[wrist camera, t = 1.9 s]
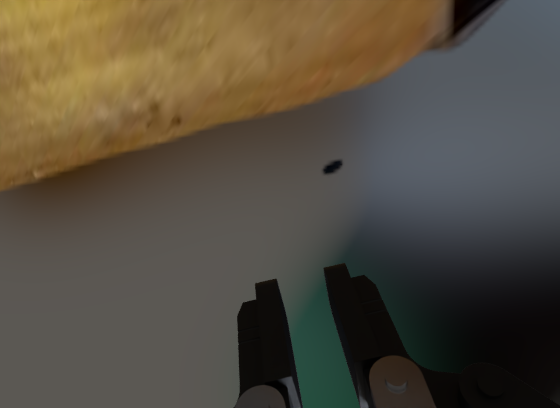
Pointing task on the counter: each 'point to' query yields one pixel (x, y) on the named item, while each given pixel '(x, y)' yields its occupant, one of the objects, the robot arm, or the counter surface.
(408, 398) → the robot arm
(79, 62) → the counter surface
